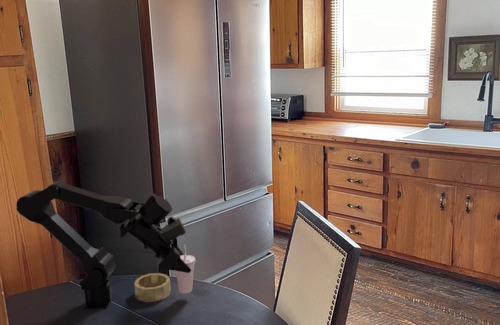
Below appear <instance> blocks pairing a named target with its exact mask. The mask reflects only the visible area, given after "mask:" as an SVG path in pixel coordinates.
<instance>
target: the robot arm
mask: <svg viewBox="0 0 500 325" xmlns="http://www.w3.org/2000/svg"><path fill="white" fill-rule="evenodd" d="M53 200H59V201H62V202H66V203H69V204H73V205H74V206H75V205H76V206H78V207H81V208H83V209H84V208H85V209H87V210H91V211H94V212H96V213H98V214H99V215H100V216H101V217H102V218H104V219H105V220H108V221H109V222H111V223H113V224H115V225H116V224H117V225H119V231H120V238H123V237H125V236H126V235H127V234H129V235H131V237H133V238H134V239H136V240H137V241H138V242H139V243H141V245H142V247H143V249H145V250H147V249H148V250H149V251H151V252H152V253H153V254H154V257H155V258H157V264H158V270H159V271H161V272H162V274H165V273H167V272H168V271H180V272H186V273H190V272H191V269H190V268H189V267H188V265H187V264H186V263H185V262H184V261H183V260H182V259H181V258H180V255H184V251H182V249H181V248H180V247H179V246H178V237H180V236H184V235H185V234H186V233H187V232H186V228H185V226H184V224H183V222H182V220H180V218H175V217H174V216H170V217H168V218H167V224H165V226H163V227H161V226H159V224H160V223H161V222H162V221H163V220H164V219H165V218H166V217H167V216H168V215H169V214H170V213H172V211H173V207H172V205H171V204H170V202H169V201H168V200H167V199H166V198H164V197H161V196H159V195H157V194H156V193H153V194H152V195H150V196H149V198H148V199H147V200H146V202H139V201H133V199H131V198H128V197H126V196H120V195H119V196H118V195H103V194H98V193H97V192H92V191H90V190H86V189H84V188H81V187H77V186H74V185H71V184H69V183H65V182H64V181H59V180H58V181H55V182H54V183H51V184H49V185H48V186H47V187H46V188H43V189H42V190H32V191H30V192H28V193H26V194H25V195H23V196H20V197H19V198H18V200H16V208H15V209H16V212H18V214H19V215H20V216H22V217H23V218H25V219H27V221H30V222H31V223H35V224H38V225H41V226H42V227H43V228H44V229H46V230H47V232H48V233H49V234H51V235H52V236H53V237H54V238H55V240H57V241H58V242H59V243H60V244H61V245H62V246H63V247H64V248H66V249H67V251H69V252H70V253H71V254H72V255H73V256H74V257H75V258H76V259H78V261H79V263H80V265H81V270H82V272H83V274H85V277H84V278H83V279H81V281H80V282H79V285H80V288H81V289H82V290H84V298H85V300H84V301H85V304H84V306H83V308H84V309H85V310H86V309H103V308H108V307H109V304H110V303H111V302H112V299H113V292H112V291H113V290H112V284H110V281H109V279H108V278H110V276H111V274H112V273H113V272H114V270H116V263H117V262H116V260H115V259H114V255H113V254H111V253H109V251H108V250H107V249H106V247H104V246H101V247H100V248H99V249H98V248H94V247H93V246H91V244H89V242H88V241H86V240H85V239H84V238H83V237H82V236H81V235H80V234H79V233H78V232H77V231H76V230H75V229H74V228H73V227H72V226H71V225H69V224H68V222H66V221H65V220H64V219H63V218H62V217H61V216H60V215H59V214H58V213H57V211H56V210H55V207H54V204H53V202H52V201H53ZM127 220H128V221H127ZM126 221H127V222H126ZM125 222H126V223H125Z"/></svg>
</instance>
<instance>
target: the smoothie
mask: <svg viewBox="0 0 500 325" xmlns="http://www.w3.org/2000/svg"><path fill="white" fill-rule="evenodd" d="M183 253H184V255H180V258H181V259H182V260H183V261H184V262H185V263H186V264H187V265H188V267H189V268H190V269H191V272H190V273H186V272H180V271H175V276H176V277H175V278H176V282H177V286H178V292H179V293H180V294H189V293H191V292H193V283H194V272H195V264H196V258H195V256H194V255H192V254H191V255H190V254H187V247H186V244H183Z"/></svg>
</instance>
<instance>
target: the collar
mask: <svg viewBox="0 0 500 325" xmlns="http://www.w3.org/2000/svg"><path fill="white" fill-rule="evenodd" d="M170 295H171V277H169V276H168V275H167V274H165V273H161V272H158V273H147V274H144V275H141V276H139V277H138V278H136V279H135V281H134V297H135V298H136V299H137V301H140V302H143V303H144V302H145V303H154V302H158V301H163V300H164V299H166V298H167V297H169V296H170Z"/></svg>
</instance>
